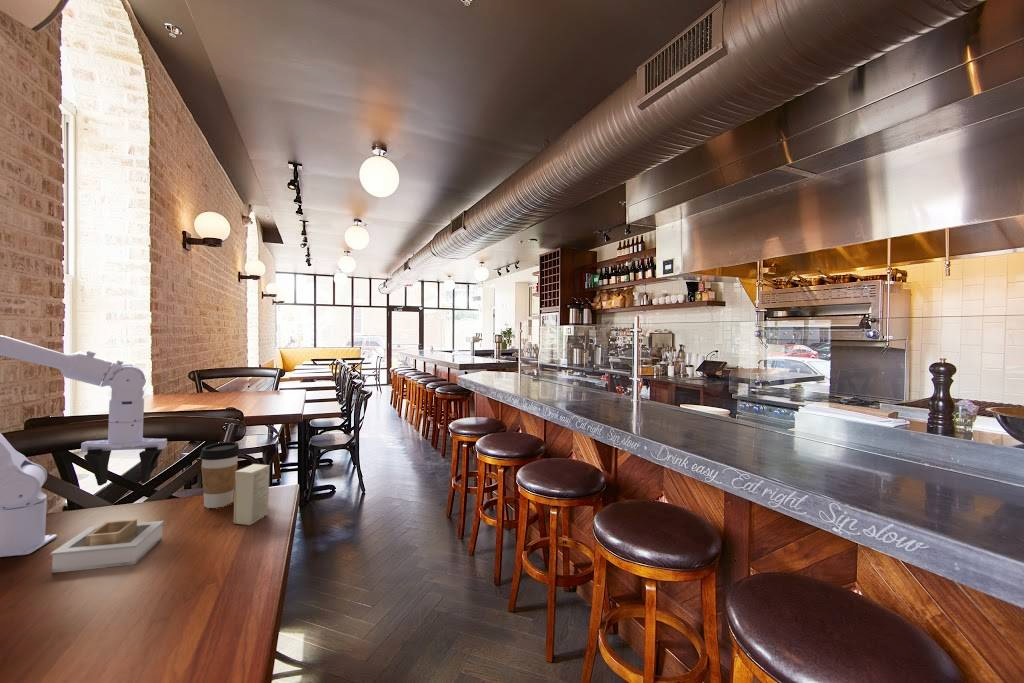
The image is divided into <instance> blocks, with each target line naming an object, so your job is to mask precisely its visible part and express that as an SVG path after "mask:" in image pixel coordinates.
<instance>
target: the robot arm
mask: <svg viewBox="0 0 1024 683" xmlns="http://www.w3.org/2000/svg"><path fill="white" fill-rule="evenodd" d="M1 356H2V357H7V358H11V359H16V360H20V361H24V362H29V363H33V364H37V365H42V366H46V367H51V368H53V369H58V370H59V371H60V372H61V374H62V376H63V377H64V378H66V379H71V380H74V381H78V382H83V383H85V384H89V385H95V386H98V387H102V388H103V387H110V388H111V394H110V395H111V396H110V400H109V403H108V426H107V427H108V429H107V431H108V432H107V439H100V440H86V441H84V442H82V443H80V446H81V447H80V452H81V453H86V454H84V455H83V458H84V460H85V462H86V463H87V464H88V465H89V467H90V468H91V469H92V472H93V474H94V477H95V481H96V484H97V486H99V487H100V486H103V485H105V484H107V482H108V476H109V461H110V457H111V453H112V451H127V450H131V451H132V450H133V451H135V450H142V451H140V452H139V453H138V454H139V455H138V456H139V459H140V466H141V467H140V469H141V471H140V472H141V473H140V483H141V484H145V483H148V482H149V481H150V480H151V474H152V472H153V469H154V467H155V464H156V462H157V460H158V458H159V457H160V455H162V454H161V453H162V452H163V450H164V449H166V448H167V447H168V439H167V438H152V437H151V438H150V437H149V438H148V437H144V434H143V433H144V412H145V411H144V410H145V399H144V398H143V397H144V396H145V395H144V394H145V391H144V387H145V385H146V383H147V379H146V377H145V374H144V371H143V370H142V369H141V368H139V367H137V366H134V365H133V364H129V363H128V364H124V361H123V360H120V359H118V360H117V361H115V360H112V359H109V358H104V357H101V356H97V355H96V352H95V351H92V350H91V351H90V350H87V352H84V351H79V350H78V351H76V352H73V353H70V354H69V353H67V354H66V353H63V352H59V351H57V350H54V349H51V348H46V347H43V346H40V345H37V344H34V343H30V342H27V341H24V340H21V339H16V338H13V337H10V336H8V335H7V336H6V335H2V334H0V357H1ZM47 472H48V471H46V469H45V468H44V467H43V466H42V465H40V464H38V463H35V462H32V461H31V460H29V459H28V458H27V457H26V456H25V455H24V454H22V453H21V452H19V451H17V450H16V449H15V448H14V447H13V445H11V443H10V442H9V441H8V440H7V438H6V437H4V435H3V434H2V433H1V432H0V558H3V557H12V556H13V557H14V556H25V555H30V554H32V553H33V552H35V551H37V550H38V549H40V548H42V547H43V546H44V545H46V544H48V543H49V542H51V541H53V540H54V539H56V538H57V536H58V534H47V535H46V529H47V528H46V527H47V526H46V525H47V524H46V523H47V516H46V515H47V501H48V500H47V499H48V498H47V494H46V493H44V492H43V491H42V490H41V488H42V486H43V485H44V484H45V483H46V481H47V478H48V473H47Z"/></svg>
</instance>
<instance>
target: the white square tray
mask: <svg viewBox="0 0 1024 683" xmlns="http://www.w3.org/2000/svg"><path fill="white" fill-rule="evenodd" d="M164 523H165V520H158V521H157V520H156V521H155V520H154V521H142V522H137V534H136V538H135V539H134V540H132V541H131V542H130V543H119V544H108V545H96V546H86V536H87V535H88V534H90V533H91V532H93V531H94V530H95V529H97V528H98V527H100V526H101V525H94V526H93V525H92V526H91V525H90V526H89V527H87V528H86V529H84V530H83V531H81V532H80V533H79V534H77V535H76V536H74V537H72V538H71V539H70V540H68V541H66V542H65V543H63V544H62V545H60V546H59V547H58V548H56V549H54V550H53V551H52V552H50V556H52V561H51V562H52V563H51V564H52V565H51V566H52V571H51V573H52V574H53V573H54V574H56V573H64V572H73V571H74V572H75V571H85V570H94V569H95V570H96V569H104V568H105V569H106V568H111V567H113V568H114V567H122V566H134V565H136V564H137V563H138V562H139V561H140V560H141V559H142V558H143V557H145V555H147V553H149V551H150V550H151V549H152V548H154V546H156V545H157V544H158V543H159V542H160V541H161V540H162V537H163V524H164ZM158 541H159V542H158ZM157 542H158V543H157Z"/></svg>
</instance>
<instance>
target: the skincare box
mask: <svg viewBox="0 0 1024 683" xmlns="http://www.w3.org/2000/svg"><path fill="white" fill-rule="evenodd" d="M270 466H271V465H270V464H260V463H251V465H247V466H245V467H242V468H240V469H237V471H235V487H234V494H233V500H234V503H233V522H232V523H233V524H236V525H237V524H238V525H247V526H251V525H252V524H254V523H256V522H258V521H259V519H260V518H261V519H263V518H264V516H265V515H266V516H268V515H269V494H270V492H269V491H270ZM267 514H268V515H267ZM266 516H265V517H266ZM262 517H263V518H262ZM261 519H260V520H261ZM257 520H258V521H257Z"/></svg>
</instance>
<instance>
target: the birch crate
mask: <svg viewBox="0 0 1024 683" xmlns="http://www.w3.org/2000/svg"><path fill="white" fill-rule="evenodd" d="M137 523H138V518H137V519H125V520H113V521H111V520H110V521H105V522H104V523H103V524H101V525H99V526H100V527H98V528H97V529H95V530H94V531H93V532H91V533H90V534H88V535H87V536H86V546H96V545H108V544H119V543H130V542H131V541H132V540H134V539H135V538H136V534H137Z"/></svg>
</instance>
